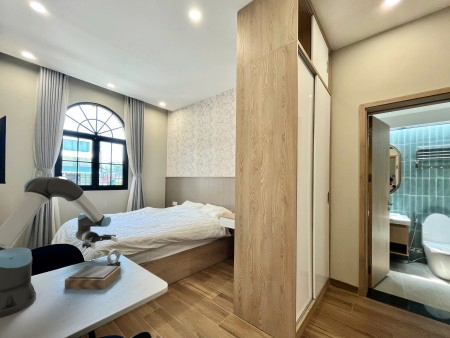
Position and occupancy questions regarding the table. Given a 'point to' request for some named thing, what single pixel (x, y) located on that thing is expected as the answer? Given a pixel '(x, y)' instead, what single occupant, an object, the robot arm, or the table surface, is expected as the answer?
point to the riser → (93, 277)
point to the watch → (115, 262)
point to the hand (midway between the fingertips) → (106, 243)
